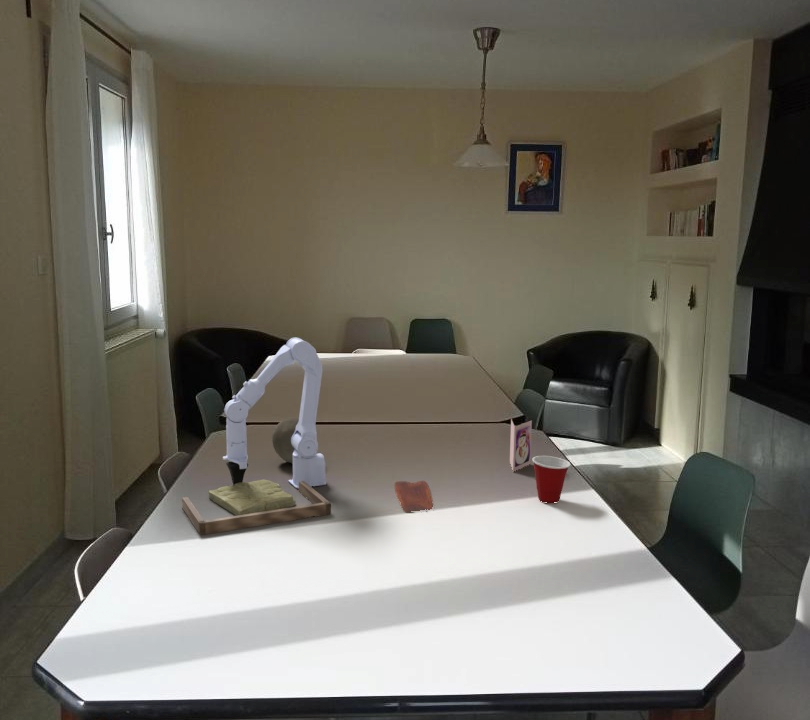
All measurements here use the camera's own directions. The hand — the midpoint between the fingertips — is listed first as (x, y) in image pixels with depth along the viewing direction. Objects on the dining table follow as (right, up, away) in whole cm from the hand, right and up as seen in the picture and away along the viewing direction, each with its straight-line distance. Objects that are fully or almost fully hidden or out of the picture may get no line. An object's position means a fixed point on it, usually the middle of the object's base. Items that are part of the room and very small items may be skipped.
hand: (237, 486), depth 228 cm
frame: (+9, -4, -16) cm, 19 cm away
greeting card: (+85, +2, +28) cm, 89 cm away
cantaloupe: (+12, +3, +29) cm, 31 cm away
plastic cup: (+90, -4, -5) cm, 91 cm away
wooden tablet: (+52, -3, -3) cm, 52 cm away
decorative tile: (+6, -4, -8) cm, 11 cm away
